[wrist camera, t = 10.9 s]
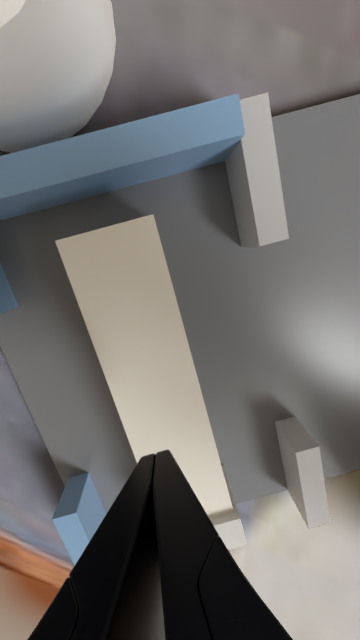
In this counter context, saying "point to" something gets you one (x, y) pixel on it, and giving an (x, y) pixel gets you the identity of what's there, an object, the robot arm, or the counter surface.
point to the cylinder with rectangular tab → (52, 68)
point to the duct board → (199, 292)
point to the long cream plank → (149, 357)
